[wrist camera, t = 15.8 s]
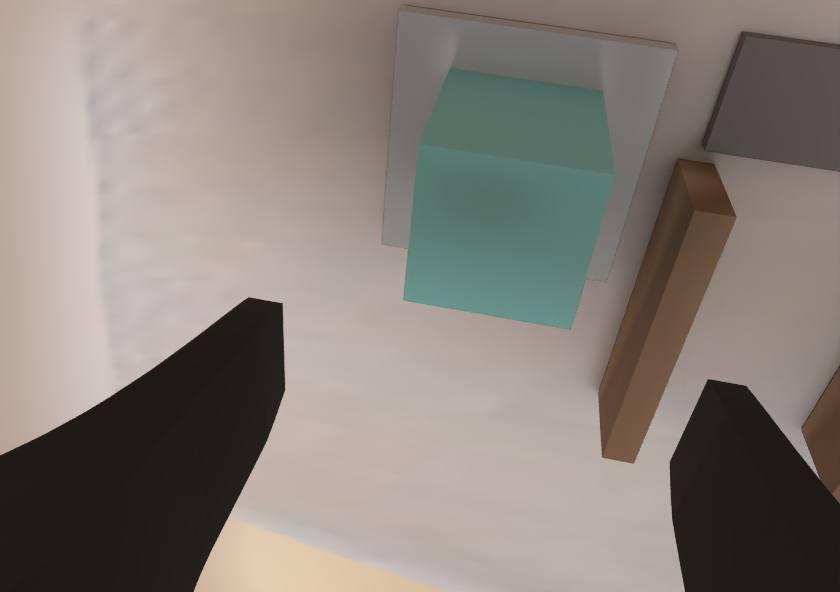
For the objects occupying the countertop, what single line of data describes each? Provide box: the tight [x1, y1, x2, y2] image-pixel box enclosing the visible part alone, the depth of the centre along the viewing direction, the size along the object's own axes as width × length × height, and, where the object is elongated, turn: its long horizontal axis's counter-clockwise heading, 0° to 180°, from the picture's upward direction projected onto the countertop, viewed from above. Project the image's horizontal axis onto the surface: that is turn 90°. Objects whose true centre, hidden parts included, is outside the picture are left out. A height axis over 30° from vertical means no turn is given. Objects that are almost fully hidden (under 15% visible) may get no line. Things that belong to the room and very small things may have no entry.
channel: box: [598, 159, 840, 502], centre depth 20 cm, size 8×9×3 cm
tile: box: [382, 5, 678, 282], centre depth 20 cm, size 7×7×1 cm
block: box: [403, 68, 615, 330], centre depth 17 cm, size 4×4×5 cm
